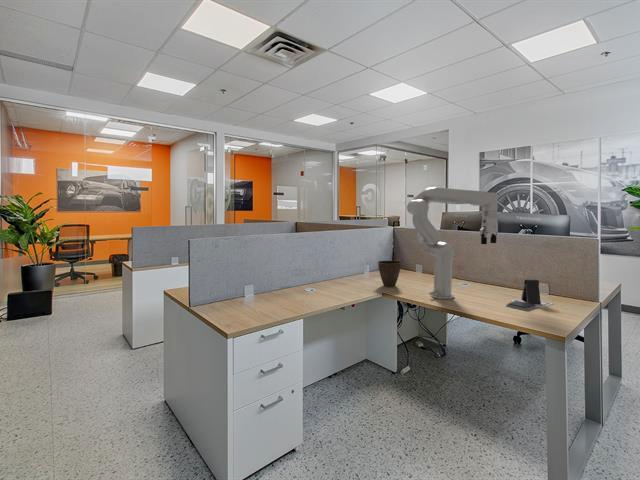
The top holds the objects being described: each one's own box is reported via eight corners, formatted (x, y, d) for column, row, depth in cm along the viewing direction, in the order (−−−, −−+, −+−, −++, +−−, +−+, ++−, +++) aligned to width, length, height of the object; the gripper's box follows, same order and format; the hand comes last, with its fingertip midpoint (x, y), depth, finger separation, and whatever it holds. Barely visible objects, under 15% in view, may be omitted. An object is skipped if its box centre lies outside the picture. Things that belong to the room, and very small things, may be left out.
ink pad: (526, 311, 163) (527, 307, 163) (506, 306, 172) (506, 303, 172) (536, 307, 169) (536, 304, 169) (516, 303, 177) (516, 300, 177)
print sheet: (540, 308, 168) (540, 307, 168) (510, 301, 181) (510, 300, 181) (552, 303, 175) (552, 303, 175) (522, 297, 188) (522, 297, 188)
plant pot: (374, 286, 219) (374, 262, 218) (383, 282, 231) (383, 259, 230) (395, 289, 211) (395, 264, 209) (404, 285, 223) (404, 261, 222)
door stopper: (540, 304, 173) (541, 281, 172) (528, 304, 174) (529, 281, 173) (533, 300, 182) (534, 278, 181) (521, 299, 183) (522, 278, 182)
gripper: (487, 214, 184) (486, 245, 185) (504, 214, 193) (503, 243, 194) (474, 214, 190) (473, 244, 191) (491, 214, 199) (490, 242, 201)
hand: (488, 243), depth 193 cm, fingers open, 9 cm apart
